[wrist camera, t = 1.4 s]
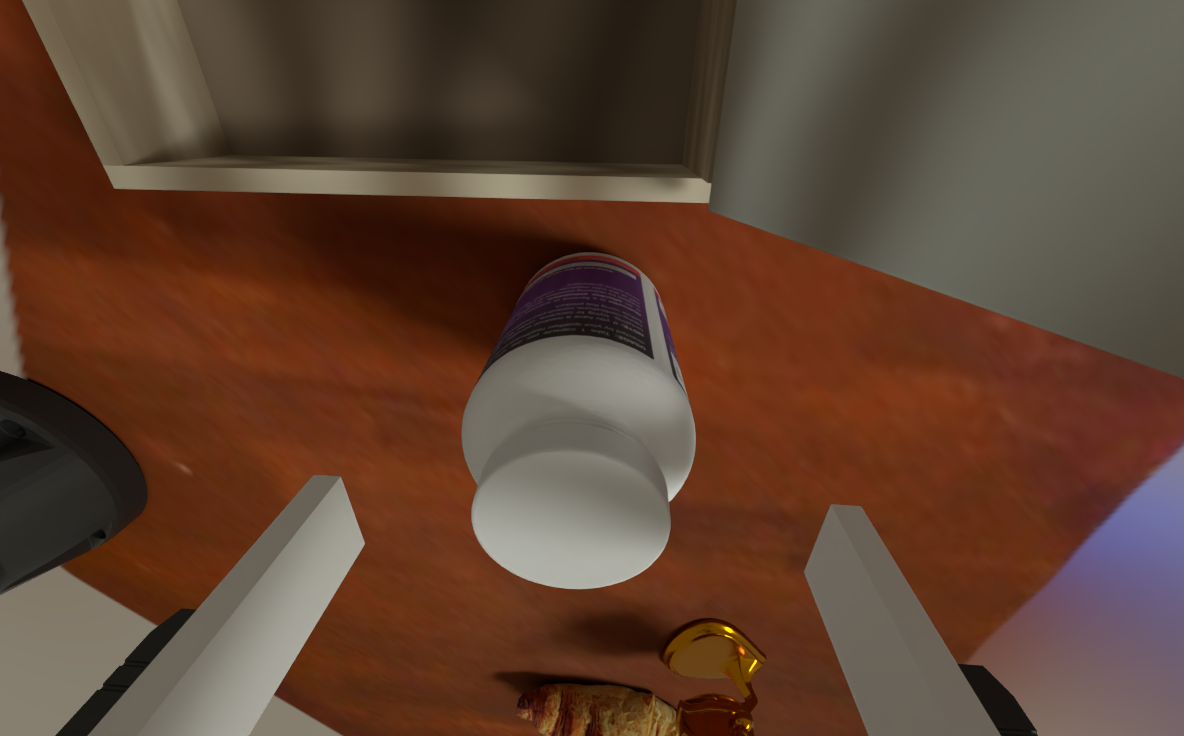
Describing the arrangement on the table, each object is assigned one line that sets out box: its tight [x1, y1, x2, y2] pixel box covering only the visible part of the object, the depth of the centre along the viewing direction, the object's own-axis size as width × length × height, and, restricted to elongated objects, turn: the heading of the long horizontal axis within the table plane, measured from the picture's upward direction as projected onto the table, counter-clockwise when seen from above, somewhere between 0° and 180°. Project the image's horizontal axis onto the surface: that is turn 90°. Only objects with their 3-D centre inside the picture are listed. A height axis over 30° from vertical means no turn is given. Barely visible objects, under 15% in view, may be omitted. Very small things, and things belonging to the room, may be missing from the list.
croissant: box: [516, 683, 678, 736], centre depth 44 cm, size 21×10×8 cm, turn 65°
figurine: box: [662, 619, 766, 736], centre depth 35 cm, size 9×11×12 cm
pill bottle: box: [462, 252, 696, 589], centre depth 18 cm, size 8×8×14 cm
